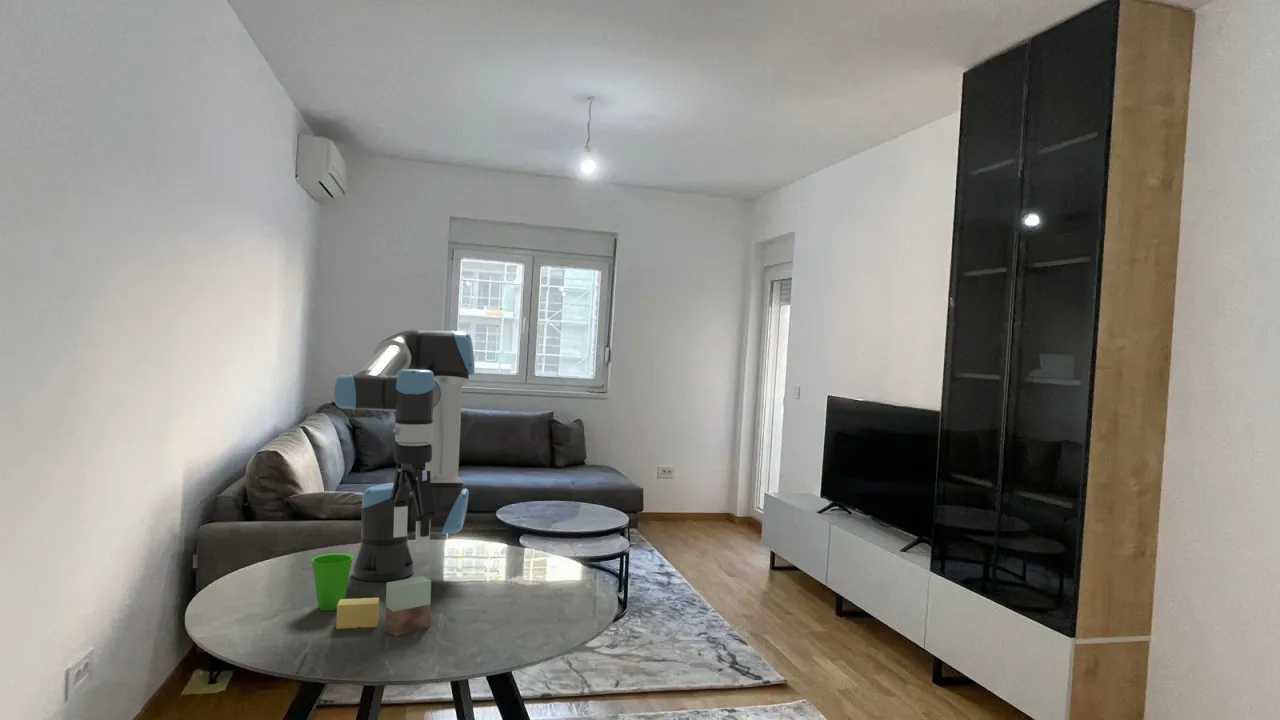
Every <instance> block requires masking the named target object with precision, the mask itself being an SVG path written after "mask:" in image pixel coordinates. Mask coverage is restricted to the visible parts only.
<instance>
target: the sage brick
mask: <svg viewBox="0 0 1280 720" xmlns="http://www.w3.org/2000/svg"><path fill="white" fill-rule="evenodd" d="M385 588H386V591H385V592H386V593H385V607H386V608H389V609H390V610H392V611H393V612H395V611H400V610H405V609H410V608H415V607H420V606H424V605H429V604H430V603H432V602H431V600H432V599H431V597H432V593H431V592H432V580H431V579H429V578H427V577H426V576H423V575H422V576H415V577H411V578H406V579H405V578H403V579H397V580H392V581H386V587H385Z"/></svg>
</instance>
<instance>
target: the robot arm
mask: <svg viewBox="0 0 1280 720" xmlns="http://www.w3.org/2000/svg"><path fill="white" fill-rule="evenodd" d="M473 345H474V344H473V340H472V337H471V335H470V334H469V333H468V332H465V331H457V330H435V329H434V330H431V329H430V330H427V329H425V330H424V329H410V330H404V331H402V332H401V331H400V332H398V333H395V334H392V335H390V336H389V337H387V338H385V339H383V340H382V341H381V342H380V343H379V344H377V346H376V347H375V349H374V351H373V355H372V357H371V359H370V360H369V361H367V363H366V364H365V365H363V367H361V369H360V370H359V371H358V372H357V373H356V374H352V373H350V374H341V375H339V376H338V377H337V378H336V380H335V383H334V387H333V389H334V390H333V393H334V394H333V395H334V396H333V397H334V403H335V405H336V407H338V408H340V409H348V410H352V411H355V410H365V411H366V410H370V411H371V410H375V411H376V410H381V411H382V410H385V411H386V410H387V411H395V427H394V428H393V429H392V431H393V433H394V434H395V437H394V440H395V442H396V444H395V445H394V461H395V463H396V464H395V465H396V467H395V468H396V469H395V476H394V479H393V482H388V483H381V484H377V485H373V486H370V487H368V488H367V489H365V490H364V491H363V493H362V500H361V501H362V502H361V503H362V504H361V506H360V508H361V520H360V521H361V525H360V528H361V529H360V531H361V532H360V537H361V538H360V546H359V549H358V552H357V554H356V558H355V560H354V563H353V565H352V566H353V567H352V577H353V578H354V579H357V580H361V581H363V582H364V581H365V582H391V581H398V580H402V579H405V578H407V577H410V576H412V575H413V574H414V572H415V568H414V567H415V563H414V562H415V561H414V558H413V556H412V552H411V549H410V546H409V534H415V543H414V544H415V549H414V550H415V551H414V552H415V553H416V554H417V553H418V554H419V553H425V552H430V549H431V548H430V547H431V546H430V545H431V534H432V535H435V534H436V535H437V534H439V535H440V534H441V535H445V534H446V535H448V534H457V533H459V532H461V530H462V529H463V525H464V523H465V521H466V520H465V519H466V515H467V510H468V509H467V508H468V504H469V495H470V491H469V489H468V488H466V487H464V481H463V480H462V478H461V477H460V476H459V464H460V446H461V445H460V444H461V443H460V440H461V426H462V425H461V421H462V420H461V419H462V418H461V417H462V403H463V401H462V400H463V398H462V397H463V388H464V386H465V385H466V384H467V383H468V382H469V378H470V377H469V376H470V375H474V374H475V371H476V370H475V354H474V347H473ZM424 465H425V466H424Z"/></svg>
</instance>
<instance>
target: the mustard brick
mask: <svg viewBox="0 0 1280 720" xmlns="http://www.w3.org/2000/svg"><path fill="white" fill-rule="evenodd" d="M379 617H380V597H362V598H345V599H340V600H339V602H338V604H337V610H336V622H335V623H336V628H335V629H336V630H338V629H341V628H342V629H359V628H358V627H361V628H370V627H371V628H376V626H377V627H378V624H379V621H378V620H380V619H379Z"/></svg>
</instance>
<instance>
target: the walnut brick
mask: <svg viewBox="0 0 1280 720" xmlns="http://www.w3.org/2000/svg"><path fill="white" fill-rule="evenodd" d="M431 604H432V602H430V604H429V605H424V606H420V607H415V608H410V609H405V610H400V611H395V612H393V611H392V610H390V609H389V608H387V607H386V608H385V610H386V613H385V614H386V616H385V632H386V633H388V634H390V635H393V636H395V637H399V635H400V636H402V634H403V635H405V633H406V634H409V633H408V632H410V633H412V632H411V631H413V632H415V631H414V630H416V631H418V630H417V629H420V628H423V629H425V628H424V627H426V628H429V627H428V626H430V627H431V610H432V609H431ZM420 630H421V629H420Z"/></svg>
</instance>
